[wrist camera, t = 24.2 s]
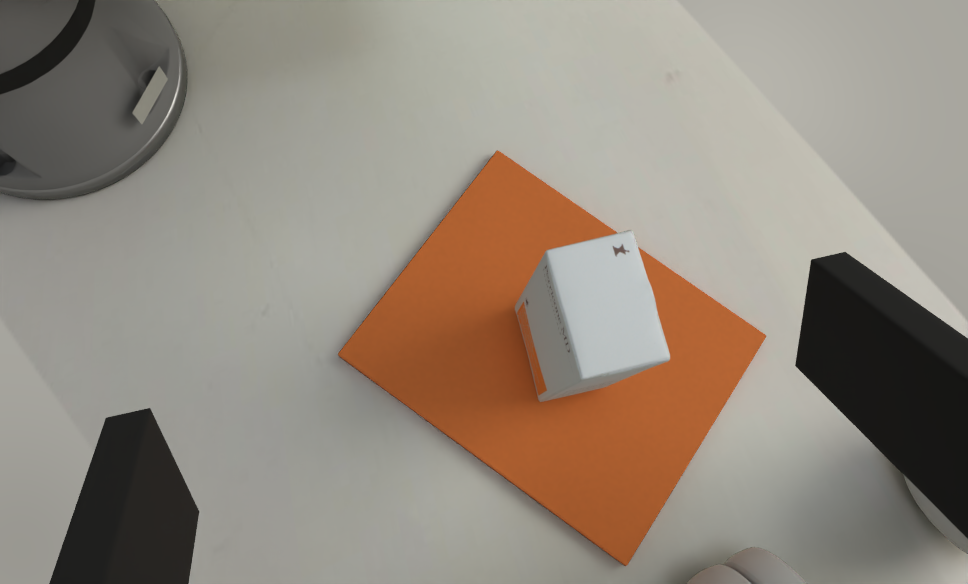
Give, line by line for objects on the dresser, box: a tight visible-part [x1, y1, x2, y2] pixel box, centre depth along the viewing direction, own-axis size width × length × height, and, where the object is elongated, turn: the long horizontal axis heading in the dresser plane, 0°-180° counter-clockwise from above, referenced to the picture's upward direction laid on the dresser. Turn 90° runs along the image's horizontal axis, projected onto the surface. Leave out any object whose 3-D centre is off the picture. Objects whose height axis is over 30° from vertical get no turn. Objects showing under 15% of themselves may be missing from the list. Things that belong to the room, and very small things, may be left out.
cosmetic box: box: [515, 230, 670, 402], centre depth 36 cm, size 6×4×12 cm
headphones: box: [686, 475, 968, 584], centre depth 32 cm, size 20×8×19 cm, turn 119°
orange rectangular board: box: [338, 151, 766, 566], centre depth 43 cm, size 20×16×1 cm
